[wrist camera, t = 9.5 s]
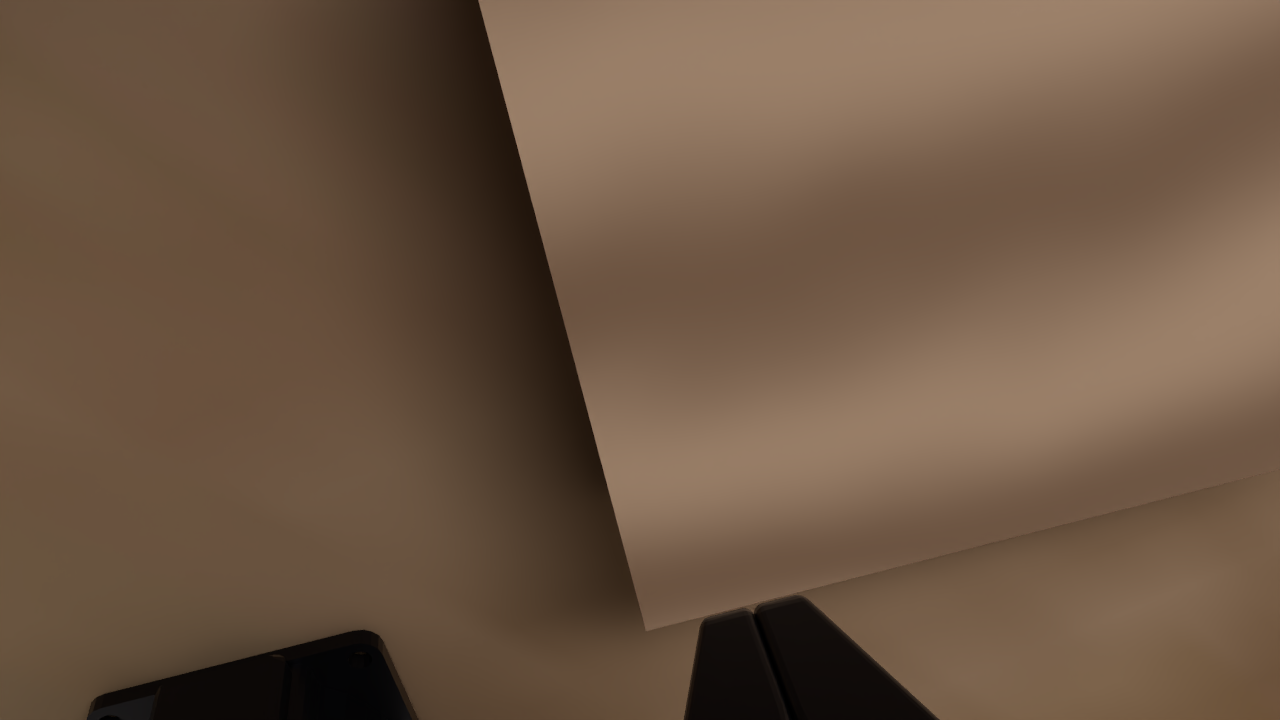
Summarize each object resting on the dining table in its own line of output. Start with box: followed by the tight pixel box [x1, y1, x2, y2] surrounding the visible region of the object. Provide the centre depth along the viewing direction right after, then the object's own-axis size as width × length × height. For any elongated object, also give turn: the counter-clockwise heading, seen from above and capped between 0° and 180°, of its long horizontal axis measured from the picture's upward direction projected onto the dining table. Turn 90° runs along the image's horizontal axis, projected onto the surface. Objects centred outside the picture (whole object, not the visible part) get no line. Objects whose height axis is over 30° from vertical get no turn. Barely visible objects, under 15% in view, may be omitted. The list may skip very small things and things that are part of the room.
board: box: [478, 0, 1280, 631], centre depth 20 cm, size 14×16×4 cm
